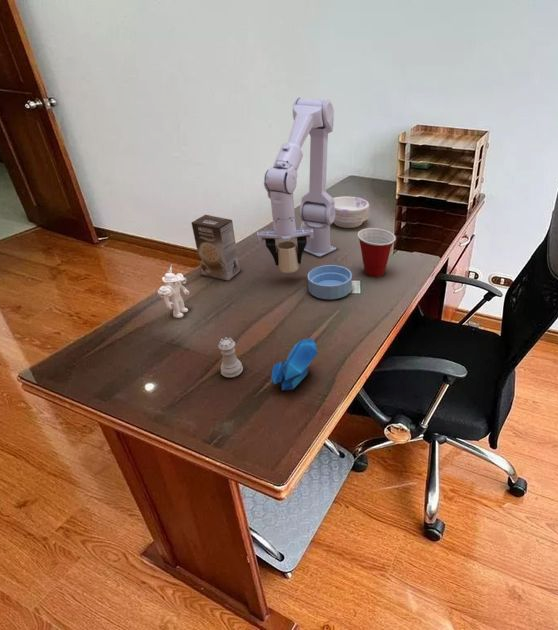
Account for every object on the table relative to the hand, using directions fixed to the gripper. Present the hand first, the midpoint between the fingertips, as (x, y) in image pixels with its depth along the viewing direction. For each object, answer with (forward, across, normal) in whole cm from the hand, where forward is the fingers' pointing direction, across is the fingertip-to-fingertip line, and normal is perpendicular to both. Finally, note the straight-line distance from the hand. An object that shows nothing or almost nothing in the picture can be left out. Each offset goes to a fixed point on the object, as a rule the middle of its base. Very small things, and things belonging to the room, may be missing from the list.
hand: (288, 262), depth 121 cm
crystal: (+6, 0, -42) cm, 42 cm away
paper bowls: (+6, +23, +40) cm, 46 cm away
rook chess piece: (+6, -13, -37) cm, 40 cm away
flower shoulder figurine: (+6, -27, -13) cm, 31 cm away
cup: (+2, 0, 0) cm, 2 cm away
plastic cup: (+6, +25, +1) cm, 26 cm away
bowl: (+6, +11, -7) cm, 14 cm away
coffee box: (+6, -19, +7) cm, 21 cm away
